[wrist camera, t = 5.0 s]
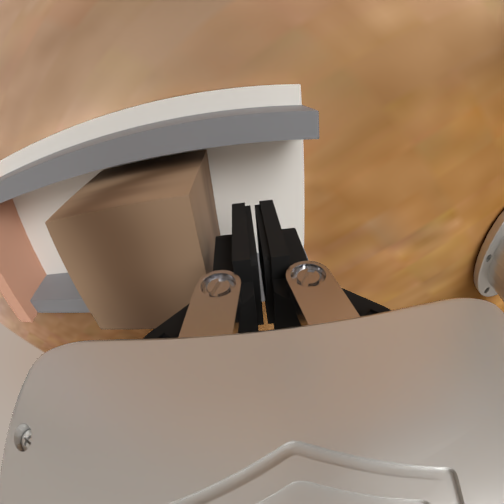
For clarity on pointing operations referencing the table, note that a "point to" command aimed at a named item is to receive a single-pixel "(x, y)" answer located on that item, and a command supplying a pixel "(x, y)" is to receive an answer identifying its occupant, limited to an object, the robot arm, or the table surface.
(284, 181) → the chute
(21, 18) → the table surface
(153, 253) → the walnut block
